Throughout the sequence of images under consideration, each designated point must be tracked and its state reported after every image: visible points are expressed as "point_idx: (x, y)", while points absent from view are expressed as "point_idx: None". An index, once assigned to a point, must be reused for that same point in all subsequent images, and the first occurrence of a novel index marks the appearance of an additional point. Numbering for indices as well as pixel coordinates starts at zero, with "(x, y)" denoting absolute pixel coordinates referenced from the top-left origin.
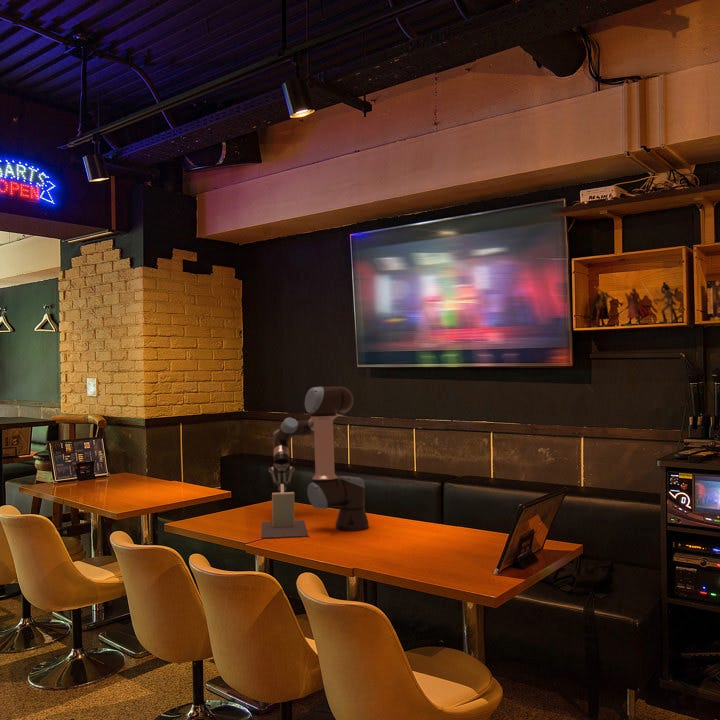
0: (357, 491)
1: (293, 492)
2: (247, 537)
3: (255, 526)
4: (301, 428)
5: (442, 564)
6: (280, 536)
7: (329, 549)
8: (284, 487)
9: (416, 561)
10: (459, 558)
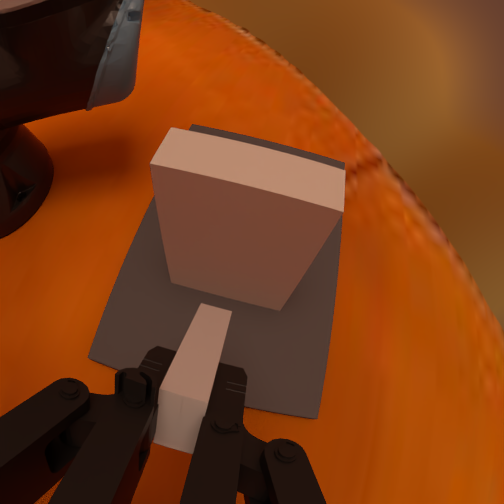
0: None
1: (163, 147)
2: (383, 214)
3: (347, 386)
4: None
5: None
6: (282, 145)
7: (194, 56)
8: (160, 374)
9: None
10: None
